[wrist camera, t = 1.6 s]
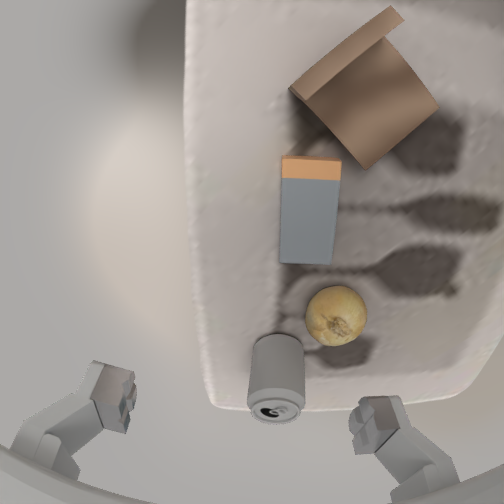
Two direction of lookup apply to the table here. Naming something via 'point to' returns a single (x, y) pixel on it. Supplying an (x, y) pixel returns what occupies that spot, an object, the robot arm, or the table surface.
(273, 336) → the can
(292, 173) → the two-tone tall prism
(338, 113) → the tan bookend
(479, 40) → the table surface
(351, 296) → the onion
